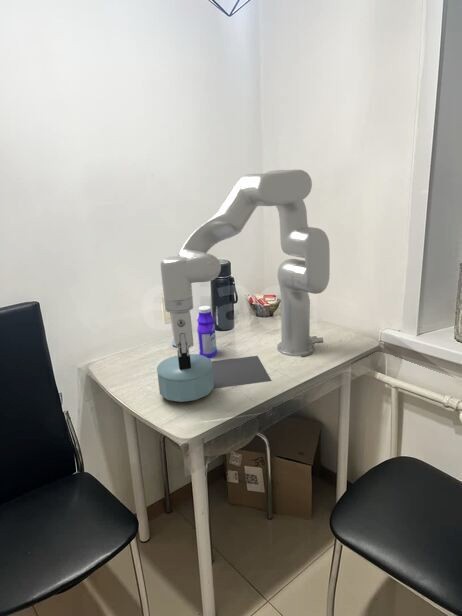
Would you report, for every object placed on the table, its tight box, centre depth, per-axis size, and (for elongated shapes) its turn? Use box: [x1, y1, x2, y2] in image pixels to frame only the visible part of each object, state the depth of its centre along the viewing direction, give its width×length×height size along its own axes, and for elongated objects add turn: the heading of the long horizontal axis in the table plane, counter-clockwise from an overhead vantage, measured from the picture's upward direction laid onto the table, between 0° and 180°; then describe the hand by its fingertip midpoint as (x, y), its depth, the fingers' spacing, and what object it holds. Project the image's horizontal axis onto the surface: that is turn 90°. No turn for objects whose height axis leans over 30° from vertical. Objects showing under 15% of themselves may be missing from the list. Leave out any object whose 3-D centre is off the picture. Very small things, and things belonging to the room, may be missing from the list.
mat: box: [211, 355, 273, 390], centre depth 129 cm, size 18×18×1 cm
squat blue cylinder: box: [156, 349, 214, 403], centre depth 116 cm, size 15×15×11 cm
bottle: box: [196, 305, 218, 359], centre depth 139 cm, size 7×6×17 cm
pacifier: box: [169, 338, 178, 351], centre depth 149 cm, size 7×6×6 cm
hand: (184, 365), depth 115 cm, fingers closed on squat blue cylinder, 3 cm apart
